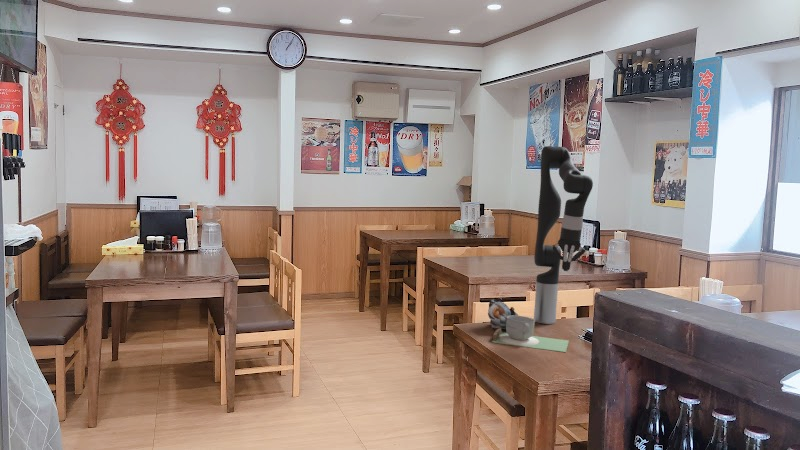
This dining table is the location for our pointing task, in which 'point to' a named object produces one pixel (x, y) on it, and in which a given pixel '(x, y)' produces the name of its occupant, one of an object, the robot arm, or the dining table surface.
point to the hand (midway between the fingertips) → (565, 270)
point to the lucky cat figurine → (499, 314)
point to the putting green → (531, 342)
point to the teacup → (519, 327)
